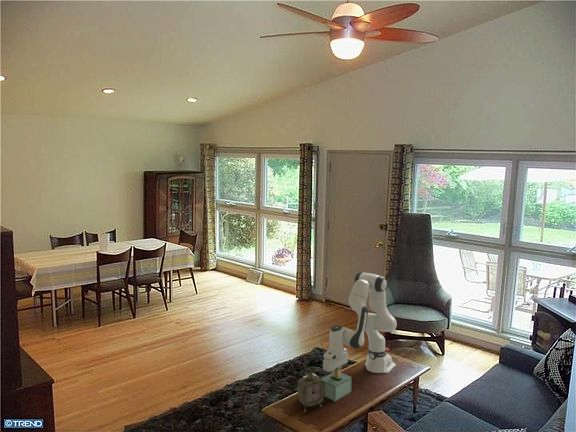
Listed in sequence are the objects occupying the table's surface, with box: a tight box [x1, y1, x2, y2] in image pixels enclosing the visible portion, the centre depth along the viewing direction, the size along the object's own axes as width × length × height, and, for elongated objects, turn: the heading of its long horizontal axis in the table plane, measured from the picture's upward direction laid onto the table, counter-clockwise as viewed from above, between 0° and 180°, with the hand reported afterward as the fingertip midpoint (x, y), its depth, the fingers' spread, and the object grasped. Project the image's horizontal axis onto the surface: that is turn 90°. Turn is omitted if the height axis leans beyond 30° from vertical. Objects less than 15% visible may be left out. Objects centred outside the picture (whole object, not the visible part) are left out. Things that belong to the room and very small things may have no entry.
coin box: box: [320, 371, 353, 403], centre depth 281 cm, size 16×12×10 cm
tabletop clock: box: [296, 366, 326, 413], centre depth 264 cm, size 14×9×25 cm, turn 119°
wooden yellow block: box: [332, 368, 341, 379], centre depth 280 cm, size 2×5×6 cm, turn 44°
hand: (335, 373), depth 280 cm, fingers closed on wooden yellow block, 2 cm apart
